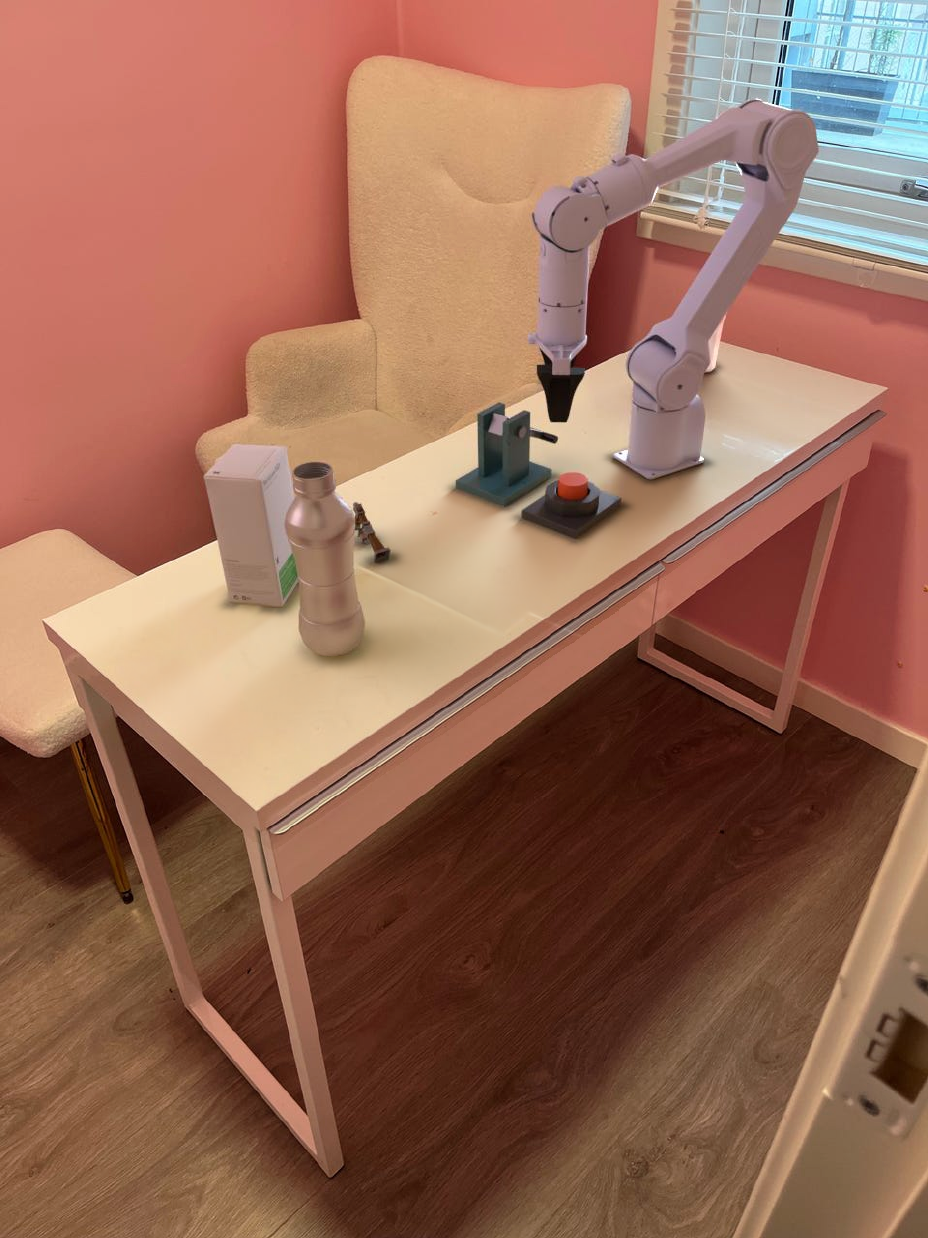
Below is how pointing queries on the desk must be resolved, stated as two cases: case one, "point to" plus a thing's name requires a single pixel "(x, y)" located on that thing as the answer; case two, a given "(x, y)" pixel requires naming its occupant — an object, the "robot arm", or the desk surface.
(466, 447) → the desk surface
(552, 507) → the control block
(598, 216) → the robot arm
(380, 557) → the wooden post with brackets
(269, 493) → the cosmetic box
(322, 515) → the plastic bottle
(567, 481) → the button
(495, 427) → the lever
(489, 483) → the bracket
